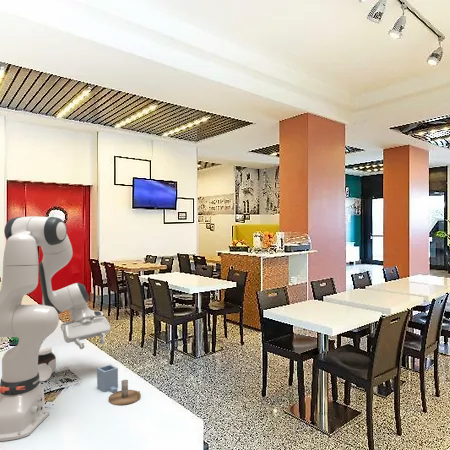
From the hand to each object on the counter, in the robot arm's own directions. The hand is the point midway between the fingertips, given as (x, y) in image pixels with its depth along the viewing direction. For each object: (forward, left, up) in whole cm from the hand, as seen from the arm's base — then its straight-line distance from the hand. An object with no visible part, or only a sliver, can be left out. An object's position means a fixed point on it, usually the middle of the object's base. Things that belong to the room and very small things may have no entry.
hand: (93, 345), depth 166 cm
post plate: (-21, -15, -15) cm, 30 cm away
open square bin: (-11, -8, -15) cm, 20 cm away
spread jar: (+7, +22, -15) cm, 27 cm away
